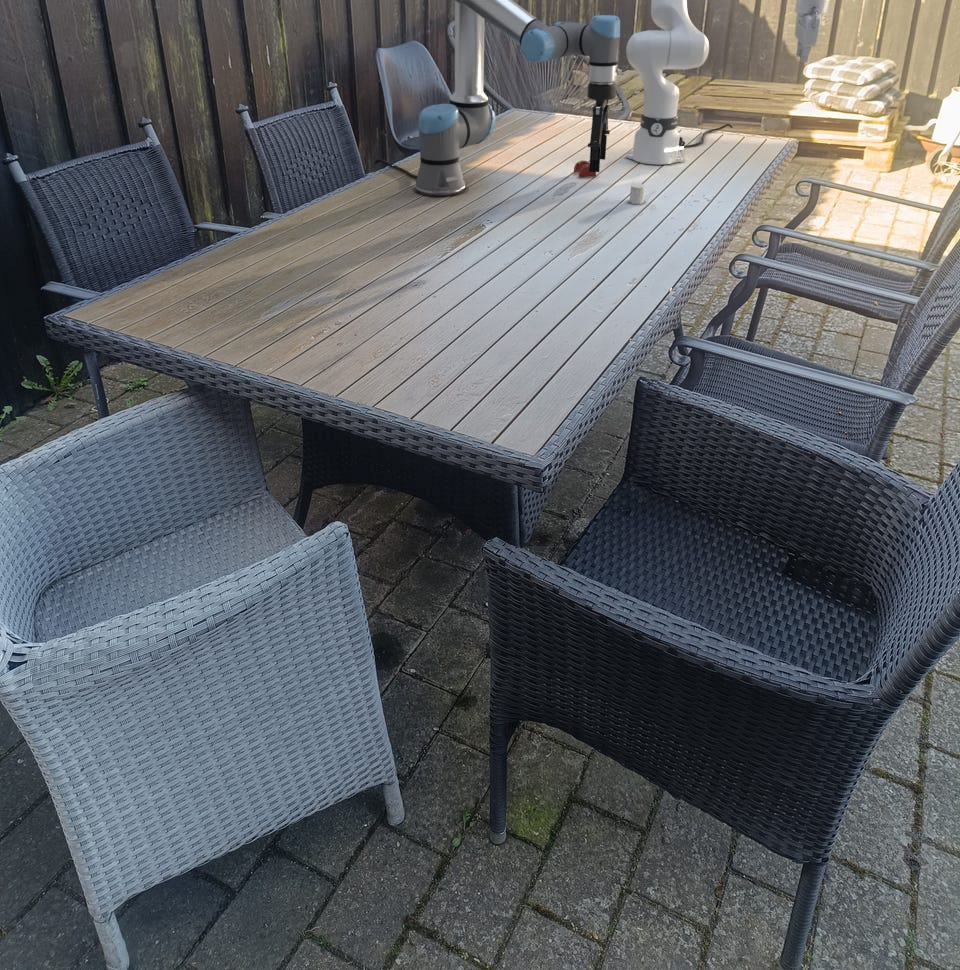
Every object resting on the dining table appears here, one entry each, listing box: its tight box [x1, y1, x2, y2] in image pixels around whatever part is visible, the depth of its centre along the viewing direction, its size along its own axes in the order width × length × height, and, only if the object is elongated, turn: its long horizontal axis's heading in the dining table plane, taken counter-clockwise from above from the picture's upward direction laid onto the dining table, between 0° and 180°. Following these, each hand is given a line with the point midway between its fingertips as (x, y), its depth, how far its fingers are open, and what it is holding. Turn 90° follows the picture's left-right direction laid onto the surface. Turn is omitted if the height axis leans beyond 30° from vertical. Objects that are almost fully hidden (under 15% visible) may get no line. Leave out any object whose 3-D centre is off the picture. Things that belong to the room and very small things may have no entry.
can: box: [628, 183, 646, 205], centre depth 247 cm, size 4×4×5 cm
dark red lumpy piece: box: [573, 160, 597, 178], centre depth 270 cm, size 6×4×8 cm
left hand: (597, 165), depth 235 cm, fingers open, 13 cm apart
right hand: (801, 59), depth 248 cm, fingers open, 8 cm apart
